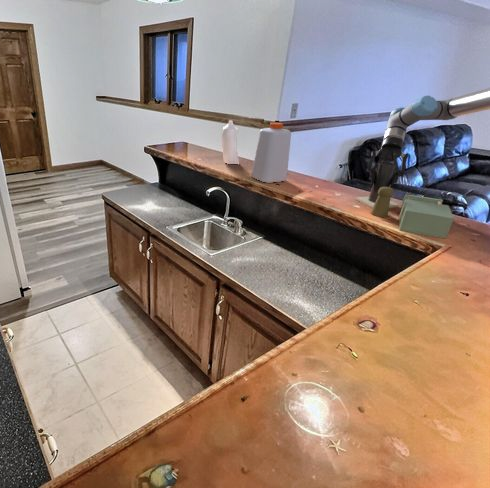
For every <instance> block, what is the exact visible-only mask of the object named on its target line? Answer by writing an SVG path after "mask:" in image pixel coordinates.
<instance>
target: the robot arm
mask: <svg viewBox="0 0 490 488" xmlns="http://www.w3.org/2000/svg"><path fill="white" fill-rule="evenodd" d="M487 110H488V111H489V110H490V87H488V88H484V89H480V90H477V91H474V92H470V93H466V94H463V95H459V96H456V97H452V98H449V99H445V100H444V99H443V100H436V98H435V97H433V96H431V95H424V96H422V97H420V98H418V99H416V100H414V101H413V102H412V103H410V104H409V105H407V106H405V107H398V108H394V109H393V110H392V111H390V115H389V117H388V119H387V125H386V127H385V132H384V136H383V139H382V143H381V146H380V149H379V150H376V149H372V151H371V154H370V155H371V158H370V160H369V162H368V165H367V167H366V171H365V172H366V173H369V178H368V180H369V181H371V182H370V186H369V188H370V189H371V188H372V186H373V182H374V179H375V175H376V171H377V167H378V164H379V163H380V162H391V163H393V164H396V169H395V172H394V175H393V178H392V181H391V185H390V188H392V189H393V187H394V184H397V183H398V180H399V177H401V178H402V177H404V176H405V173H406V168H407V160H408V158H409V155H410V154H409V153H408V152H407V153H403V151H402V148H403V145H404V140H405V137H406V133H407V129H408V128H409V127H411V126H412V125H414V124H415V123H417V122H419V121H449V120H454V119H456V118H458V117H460V116H465V115H469V114H475V113H479V112H483V111H487ZM378 155H379V159H378V160H377V162H376V163H375V165H374V166H373V164H374V161H375V158H376V157H377V156H378ZM399 158H401V165H400V169H399V164H398V159H399Z"/></svg>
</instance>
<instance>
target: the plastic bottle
mask: <svg viewBox="0 0 490 488" xmlns="http://www.w3.org/2000/svg"><path fill="white" fill-rule="evenodd" d="M291 138H292V132H291V130H290V129H286V128H284V123H282V122H270V124H269V127H264V128H261V129H260V131H259V135H258V141H257V145H256V150H255V155H254V160H253V165H252V170H251V178H252V177H253V178H252V179H254V178H255V179H254V180H256V179H257V180H256V181H258V180H260V181H259V182H261V181H262V182H261V183H263V182H266V183H265V184H274V183H273V182H277V183H282V182H281V181H284V182H286V181H287V179H288V170H289V169H288V168H289V158H290V148H291ZM285 180H286V181H285Z"/></svg>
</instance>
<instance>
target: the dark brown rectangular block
mask: <svg viewBox="0 0 490 488" xmlns="http://www.w3.org/2000/svg"><path fill="white" fill-rule="evenodd" d="M395 169H396V164H393V163H392V162H388V161H383V162H380V163H379V164H378V167H377V170H376V175H375V179H374V182H373V186H372V188H370V191H369V196H368V197H369V199H368V200H369V201H371V202H374V203H375V202H376V200H377V198H378V196H379V194H378V190H379V189H380V188H381V187H390V185H391V181H392V178H393V175H394V172H395Z"/></svg>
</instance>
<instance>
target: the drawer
mask: <svg viewBox="0 0 490 488" xmlns="http://www.w3.org/2000/svg"><path fill="white" fill-rule="evenodd" d="M405 199H409V200H416V201H422V202H429V203H435V204H442V205H443V202H444V200H443V199H442V198H433V197H427V196H420V195H413V194H406V193H405V195H404V197H403V200H402V203H401V206H400V209H402V206H403V203H404V200H405Z"/></svg>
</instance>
